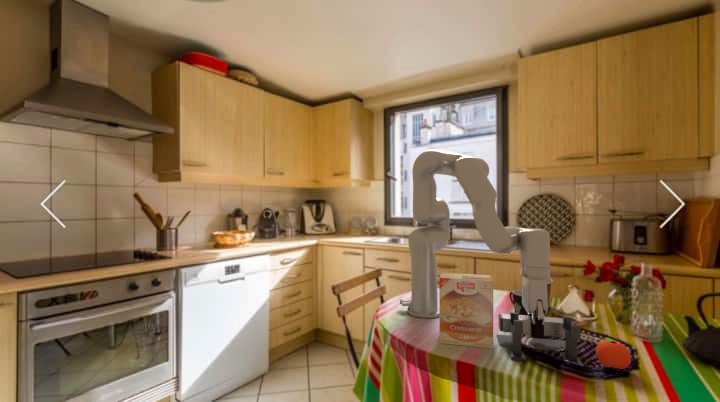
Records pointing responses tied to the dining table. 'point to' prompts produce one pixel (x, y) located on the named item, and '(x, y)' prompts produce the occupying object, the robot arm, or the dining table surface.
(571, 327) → the right post
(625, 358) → the tomato
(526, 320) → the steel rail
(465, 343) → the coffeecake box
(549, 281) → the coffee cup
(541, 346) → the flat grey plate
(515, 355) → the left post
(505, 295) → the dining table surface
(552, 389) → the dining table surface
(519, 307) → the coffee mug
